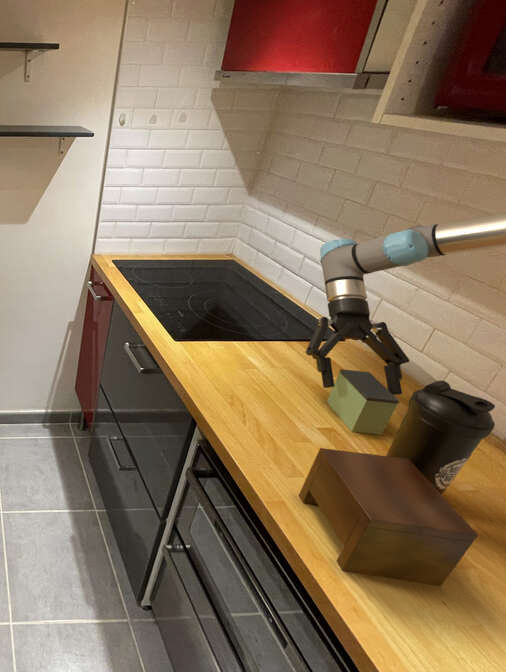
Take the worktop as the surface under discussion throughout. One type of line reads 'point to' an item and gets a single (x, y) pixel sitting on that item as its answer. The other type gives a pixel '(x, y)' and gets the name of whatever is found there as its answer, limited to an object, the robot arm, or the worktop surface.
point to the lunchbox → (362, 402)
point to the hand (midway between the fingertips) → (362, 390)
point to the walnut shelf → (387, 516)
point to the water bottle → (441, 431)
